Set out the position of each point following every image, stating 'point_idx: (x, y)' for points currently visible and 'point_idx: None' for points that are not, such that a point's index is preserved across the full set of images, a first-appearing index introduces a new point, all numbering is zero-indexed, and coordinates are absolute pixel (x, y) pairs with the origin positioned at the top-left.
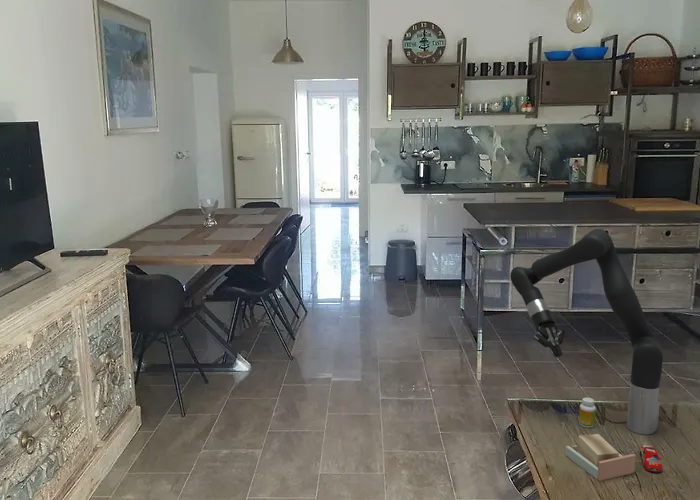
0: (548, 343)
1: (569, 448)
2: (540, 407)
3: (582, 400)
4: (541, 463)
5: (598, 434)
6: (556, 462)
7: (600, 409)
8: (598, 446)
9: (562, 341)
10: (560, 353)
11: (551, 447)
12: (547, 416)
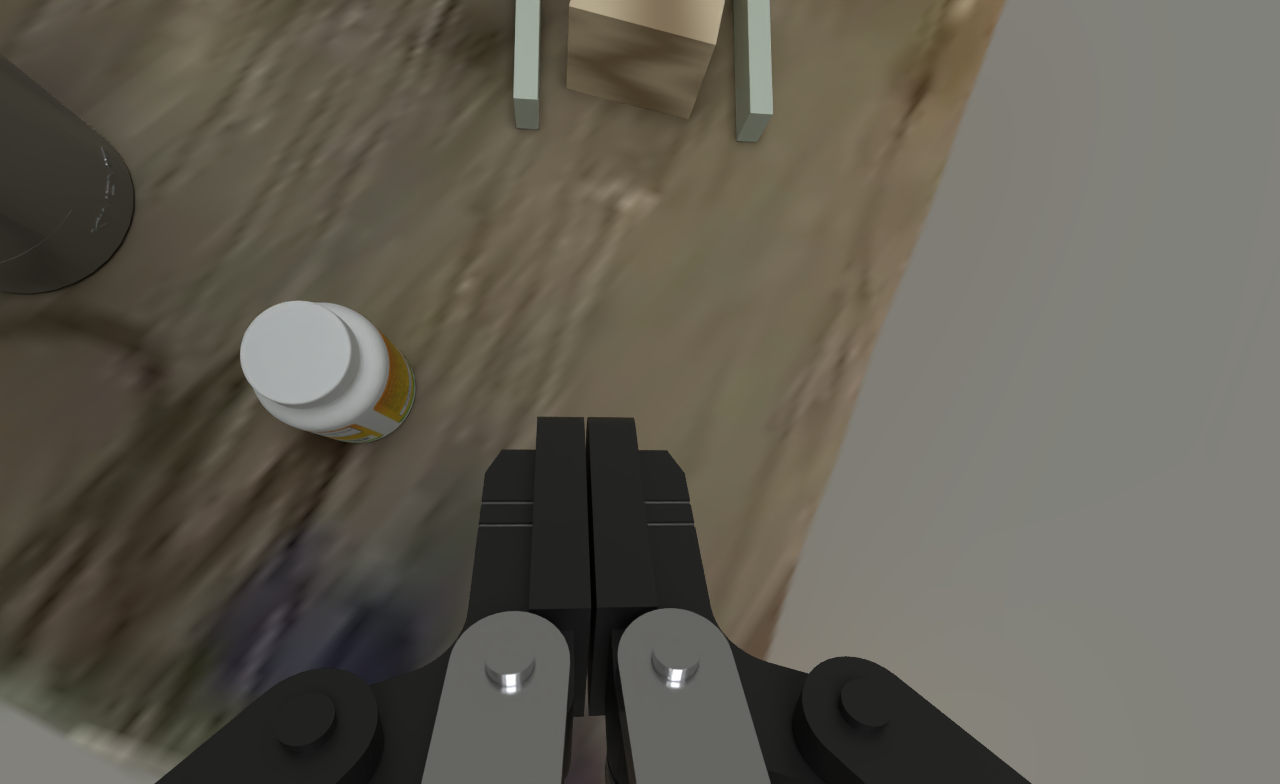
0: (884, 699)
1: (765, 88)
2: None
3: (345, 380)
4: (931, 124)
5: (573, 1)
6: (850, 101)
7: (59, 555)
8: None
9: (249, 723)
10: (572, 429)
11: (782, 235)
12: None
